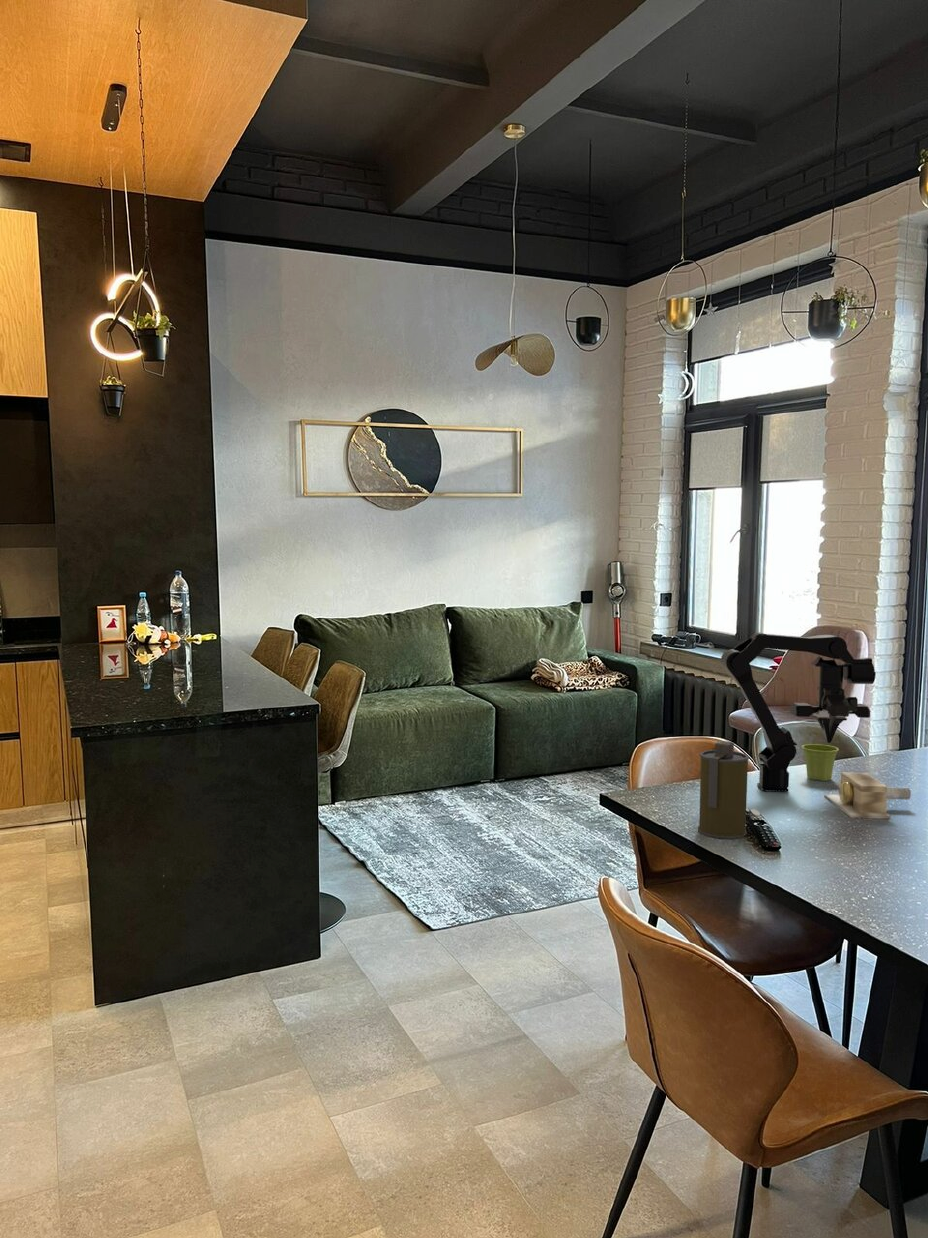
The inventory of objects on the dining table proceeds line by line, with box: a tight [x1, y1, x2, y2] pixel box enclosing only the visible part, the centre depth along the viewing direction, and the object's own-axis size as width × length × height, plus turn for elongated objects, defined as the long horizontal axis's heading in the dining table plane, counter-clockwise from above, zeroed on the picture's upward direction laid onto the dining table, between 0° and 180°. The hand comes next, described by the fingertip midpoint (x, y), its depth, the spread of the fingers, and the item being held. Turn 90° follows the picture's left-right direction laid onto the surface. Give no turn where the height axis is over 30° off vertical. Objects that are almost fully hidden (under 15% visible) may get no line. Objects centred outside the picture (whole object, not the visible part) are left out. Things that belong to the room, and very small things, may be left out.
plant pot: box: [801, 743, 840, 782], centre depth 248 cm, size 9×9×9 cm
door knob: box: [838, 781, 911, 803], centre depth 220 cm, size 16×5×5 cm, turn 87°
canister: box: [697, 740, 750, 840], centre depth 200 cm, size 11×10×20 cm
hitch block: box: [824, 771, 891, 820], centre depth 220 cm, size 9×18×7 cm, turn 177°
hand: (828, 742), depth 236 cm, fingers closed
